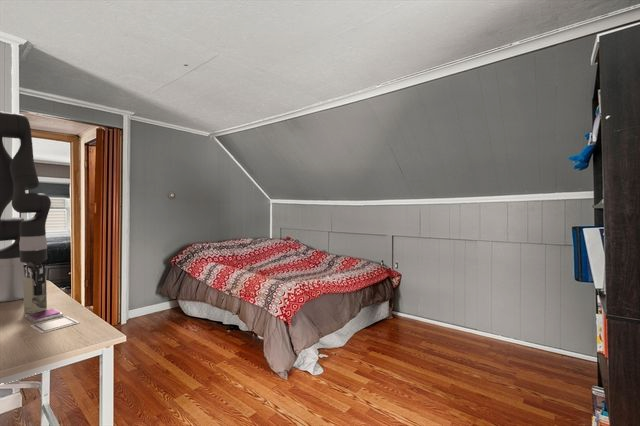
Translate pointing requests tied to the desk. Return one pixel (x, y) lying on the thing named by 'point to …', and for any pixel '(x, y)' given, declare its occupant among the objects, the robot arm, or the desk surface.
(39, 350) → the desk surface
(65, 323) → the paper
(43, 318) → the ink pad
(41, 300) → the box
